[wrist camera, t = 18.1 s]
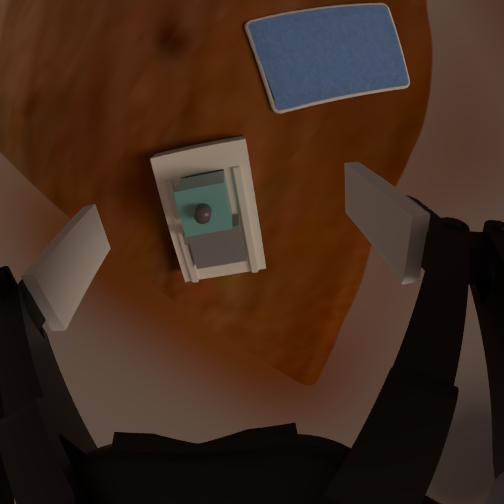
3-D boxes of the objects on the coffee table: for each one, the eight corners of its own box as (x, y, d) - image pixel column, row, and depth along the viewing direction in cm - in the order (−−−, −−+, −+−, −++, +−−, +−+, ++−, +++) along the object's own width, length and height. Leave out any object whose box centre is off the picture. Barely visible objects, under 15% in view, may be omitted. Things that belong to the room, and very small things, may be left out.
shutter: (186, 223, 37) (182, 235, 34) (238, 213, 37) (238, 225, 34) (197, 265, 40) (195, 279, 37) (246, 256, 39) (247, 271, 37)
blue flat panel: (272, 115, 34) (274, 115, 33) (241, 23, 28) (242, 20, 27) (407, 87, 33) (412, 87, 32) (383, 3, 27) (387, 1, 26)
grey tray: (155, 153, 35) (149, 159, 32) (244, 135, 35) (245, 139, 32) (187, 269, 43) (184, 283, 40) (263, 257, 43) (266, 270, 40)
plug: (184, 172, 36) (171, 197, 28) (224, 164, 36) (223, 187, 28) (193, 209, 39) (183, 243, 30) (231, 202, 39) (232, 235, 30)
